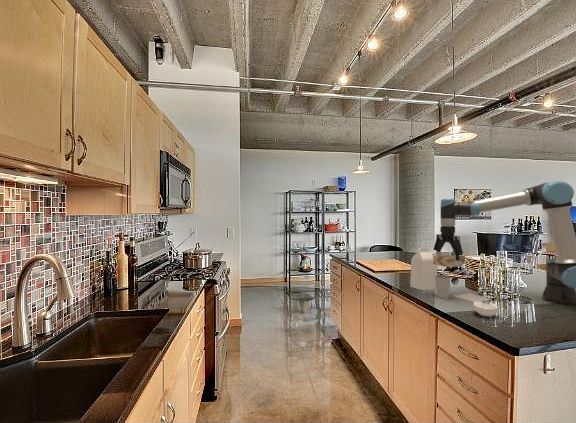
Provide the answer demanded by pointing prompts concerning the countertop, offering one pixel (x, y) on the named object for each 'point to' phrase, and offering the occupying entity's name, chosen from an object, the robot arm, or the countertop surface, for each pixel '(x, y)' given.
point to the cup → (442, 286)
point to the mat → (472, 297)
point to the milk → (423, 270)
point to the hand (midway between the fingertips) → (447, 264)
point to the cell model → (486, 308)
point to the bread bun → (446, 260)
